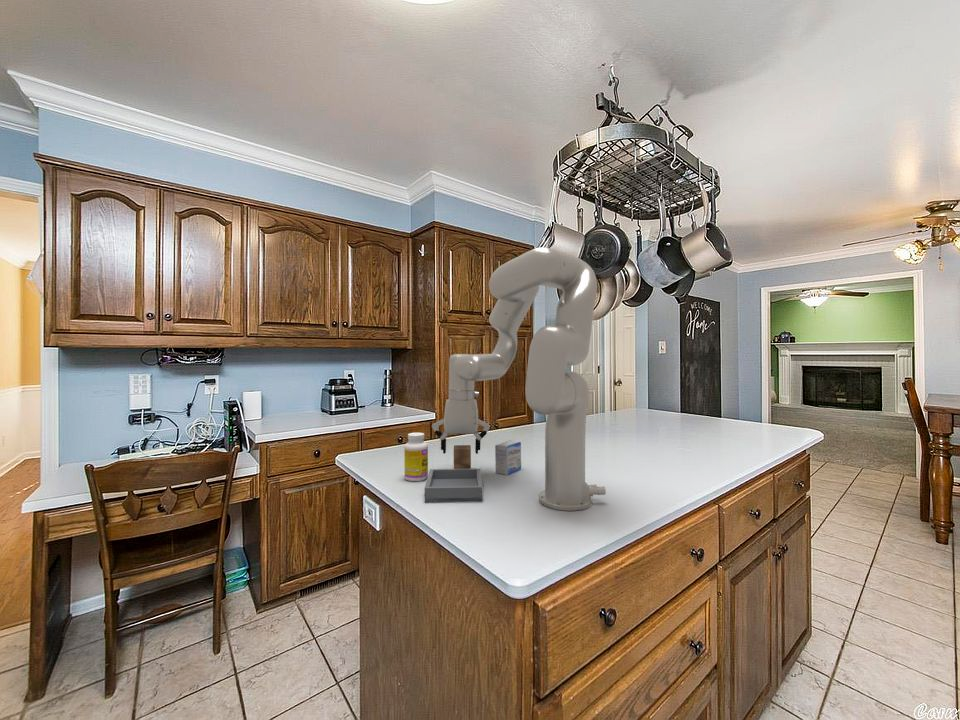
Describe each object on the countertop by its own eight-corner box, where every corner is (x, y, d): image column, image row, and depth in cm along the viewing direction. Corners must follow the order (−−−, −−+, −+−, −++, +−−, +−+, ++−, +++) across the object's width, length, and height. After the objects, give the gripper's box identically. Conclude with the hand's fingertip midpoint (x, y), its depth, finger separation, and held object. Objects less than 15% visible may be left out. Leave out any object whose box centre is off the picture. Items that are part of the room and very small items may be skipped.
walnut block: (470, 471, 126) (470, 445, 125) (470, 476, 121) (470, 449, 120) (454, 471, 125) (454, 445, 125) (453, 476, 120) (453, 449, 120)
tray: (480, 480, 116) (480, 468, 116) (482, 501, 100) (482, 487, 100) (430, 481, 116) (430, 469, 116) (424, 502, 100) (424, 488, 100)
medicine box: (507, 475, 121) (507, 446, 121) (495, 472, 124) (494, 444, 124) (521, 469, 127) (521, 441, 127) (509, 466, 130) (509, 439, 130)
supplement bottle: (424, 482, 115) (423, 436, 115) (401, 481, 116) (400, 436, 116) (430, 475, 121) (430, 432, 121) (409, 474, 123) (408, 431, 122)
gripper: (489, 394, 127) (488, 449, 127) (433, 393, 126) (432, 449, 127) (491, 397, 119) (490, 456, 120) (431, 396, 119) (430, 455, 119)
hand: (460, 452), depth 123 cm, fingers open, 9 cm apart
